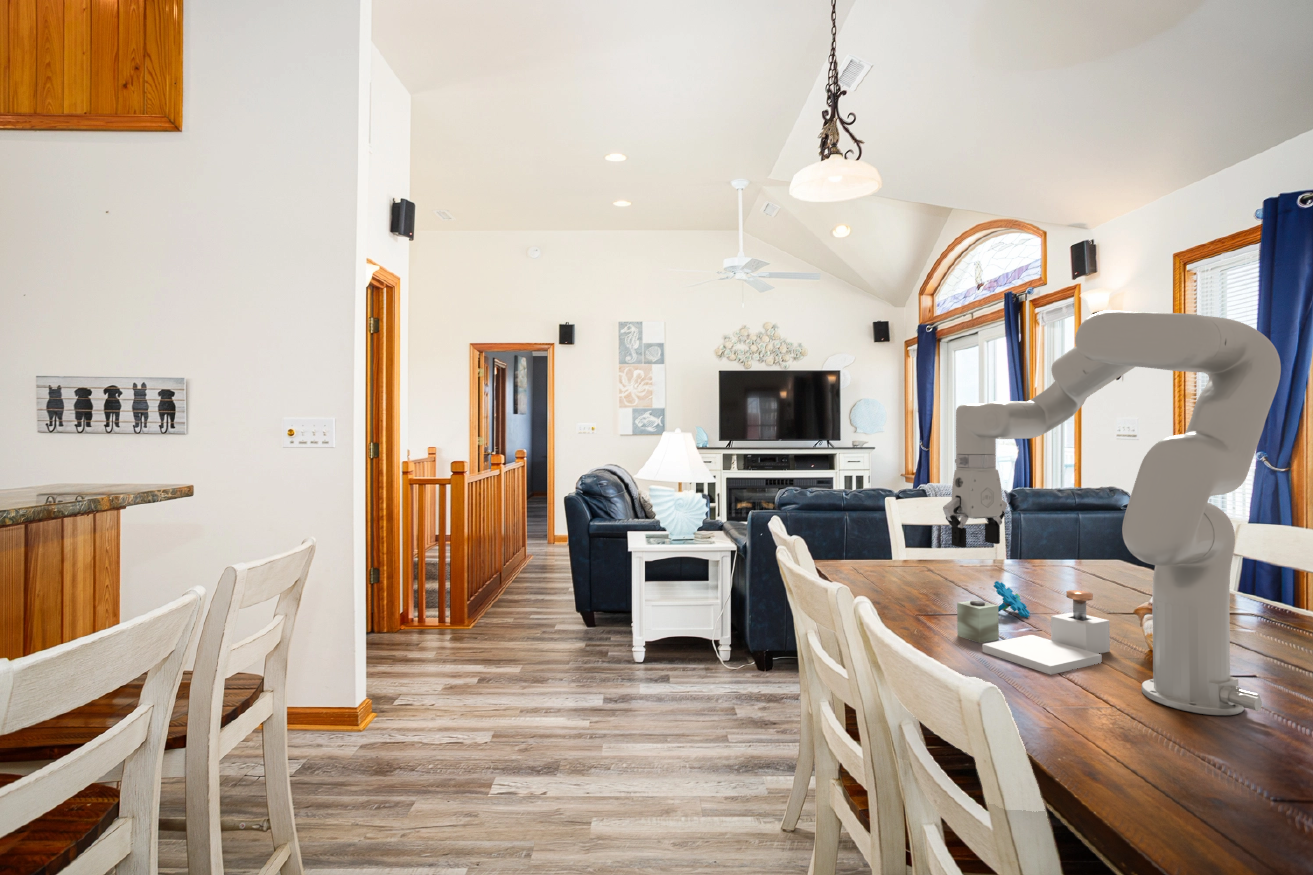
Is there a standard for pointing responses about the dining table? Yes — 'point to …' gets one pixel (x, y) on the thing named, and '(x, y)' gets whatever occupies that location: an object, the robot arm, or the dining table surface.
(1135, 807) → the dining table surface
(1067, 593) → the press pin
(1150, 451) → the robot arm
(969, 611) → the block
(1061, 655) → the press bed
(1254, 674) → the dining table surface
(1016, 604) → the gear
